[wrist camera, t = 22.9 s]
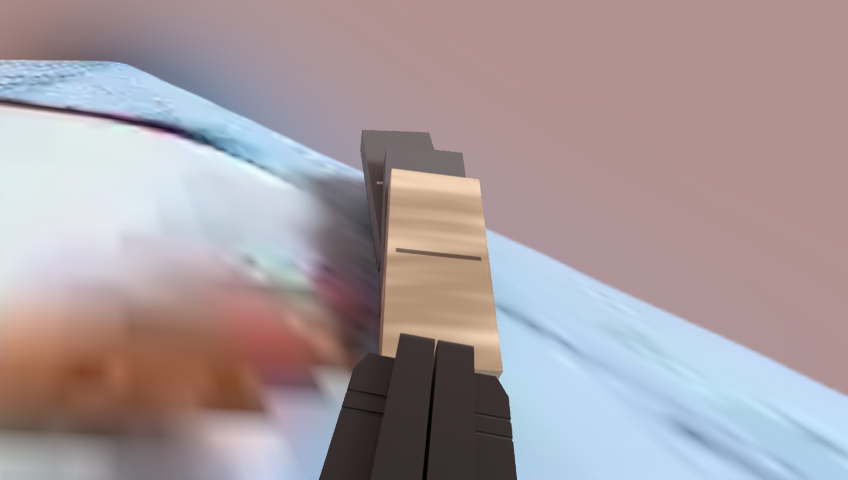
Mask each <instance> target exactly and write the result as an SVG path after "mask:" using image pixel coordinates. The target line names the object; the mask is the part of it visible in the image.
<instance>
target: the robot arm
mask: <svg viewBox="0 0 848 480" xmlns="http://www.w3.org/2000/svg"><path fill="white" fill-rule="evenodd" d="M434 350H435V354H434ZM510 419H511V416H510V407H509V397H508V395H507V394H506V392H505V390H504V389H503V387H502V385H501V384H500V382H499V380H498V379H497V377H496V376H491V375H486V374H480V373H475V367H474V346H470V345H465V344H459V343H454V342H448V341H443V340H438V341H437V345H436V349H435V339H432V338H427V337H421V336H416V335H410V334H405V333H400V336H399V341H398V346H397V351H396V356H395V358H393V357H388V356H382V355H377V354H371V353H369V354H368V355H367V356H366V357H365V358H364V359H363V360H362V361H361V362H360V363H359V364H358V365H357V366H356V367H355V368H354V369H353V372H352V376H351V379H350V382H349V385H348V388H347V393H346V395H345V398H344V401H343V404H342V409H341V411H340V414H339V417H338V421H337V424H336V427H335V430H334V433H333V437H332V440H331V443H330V446H329V449H328V453H327V456H326V459H325V462H324V465H323V469H322V472H321V475H320V478H319V480H517V475H516V465H515V455H514V446H513V442H512V437H513V436H512V426H511V423H510Z"/></svg>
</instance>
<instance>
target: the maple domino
mask: <svg viewBox="0 0 848 480" xmlns="http://www.w3.org/2000/svg"><path fill="white" fill-rule="evenodd" d="M400 333H405V334H410V335H416V336H421V337H427V338H432V339H435V349H436V345H437V341H438V340H443V341H448V342H454V343H459V344H465V345H470V346H474V367H475V373H480V374H486V375H491V376H496V377H497V379H499V377H500V375H501V374H502V372H503V369H502V361H501V353H500V344H499V336H498V328H497V320H496V312H495V304H494V296H493V288H492V280H491V272H490V264H489V256H488V247H487V239H486V231H485V223H484V215H483V207H482V199H481V191H480V183H479V179H471V178H463V177H455V176H447V175H440V174H432V173H424V172H416V171H408V170H400V169H392V170H391V176H390V183H389V189H388V200H387V218H386V235H385V252H384V270H383V287H382V304H381V321H380V339H379V355H382V356H388V357H393V358H395V356H396V351H397V346H398V341H399V336H400ZM434 354H435V350H434Z"/></svg>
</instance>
